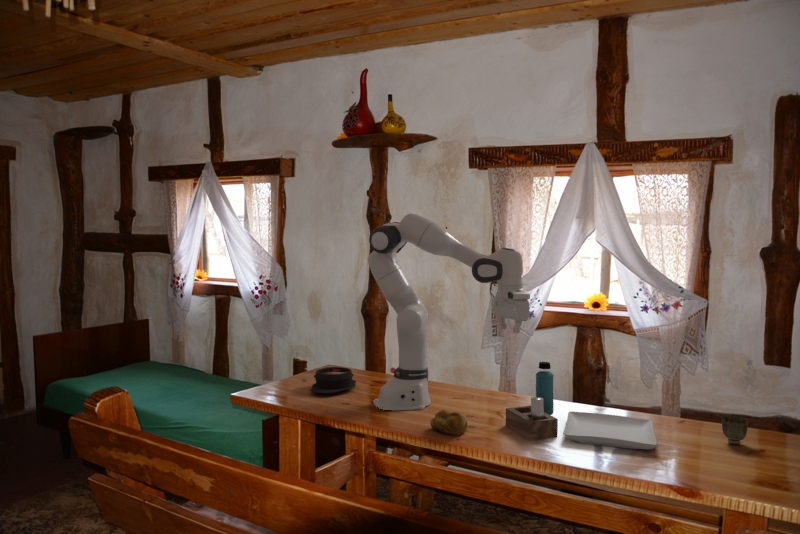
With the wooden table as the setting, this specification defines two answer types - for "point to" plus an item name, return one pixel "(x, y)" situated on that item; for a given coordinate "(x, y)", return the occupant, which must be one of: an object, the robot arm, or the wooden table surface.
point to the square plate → (610, 430)
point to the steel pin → (537, 408)
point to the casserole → (333, 380)
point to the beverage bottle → (545, 387)
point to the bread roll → (449, 422)
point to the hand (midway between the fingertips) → (509, 330)
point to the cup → (734, 429)
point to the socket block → (531, 423)
